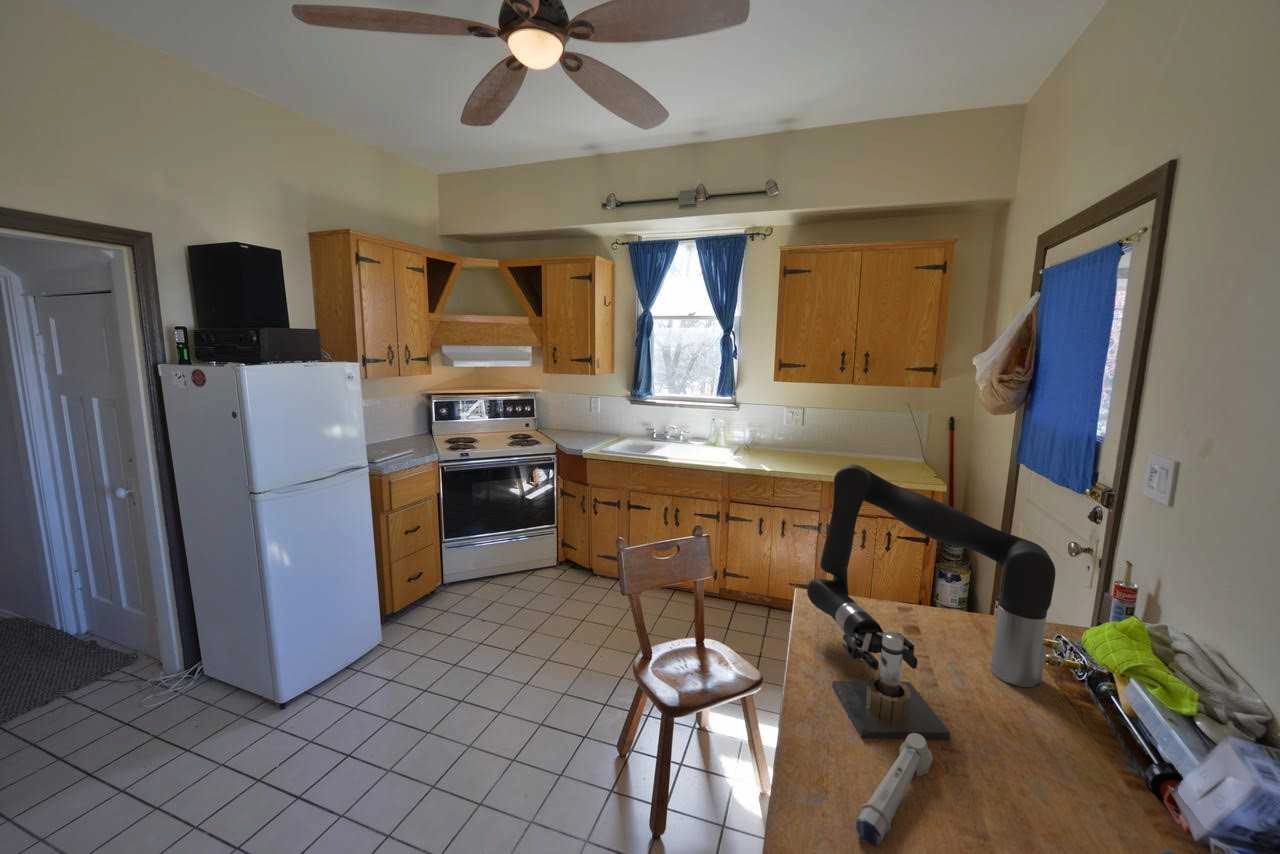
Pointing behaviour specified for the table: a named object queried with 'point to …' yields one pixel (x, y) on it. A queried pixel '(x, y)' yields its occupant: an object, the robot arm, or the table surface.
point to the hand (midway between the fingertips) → (896, 665)
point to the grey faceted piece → (893, 788)
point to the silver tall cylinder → (890, 664)
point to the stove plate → (886, 724)
